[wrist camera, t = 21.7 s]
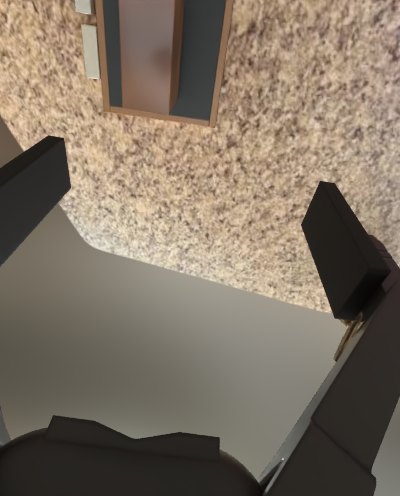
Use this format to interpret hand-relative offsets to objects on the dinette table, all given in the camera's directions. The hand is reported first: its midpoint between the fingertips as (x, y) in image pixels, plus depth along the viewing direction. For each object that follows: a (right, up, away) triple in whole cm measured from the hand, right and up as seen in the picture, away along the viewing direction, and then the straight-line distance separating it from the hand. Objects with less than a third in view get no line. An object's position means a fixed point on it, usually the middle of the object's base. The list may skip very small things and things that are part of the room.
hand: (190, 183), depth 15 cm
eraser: (-4, +20, +16) cm, 25 cm away
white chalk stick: (-11, +19, +18) cm, 28 cm away
